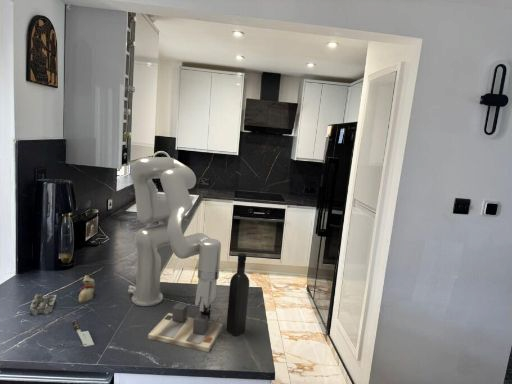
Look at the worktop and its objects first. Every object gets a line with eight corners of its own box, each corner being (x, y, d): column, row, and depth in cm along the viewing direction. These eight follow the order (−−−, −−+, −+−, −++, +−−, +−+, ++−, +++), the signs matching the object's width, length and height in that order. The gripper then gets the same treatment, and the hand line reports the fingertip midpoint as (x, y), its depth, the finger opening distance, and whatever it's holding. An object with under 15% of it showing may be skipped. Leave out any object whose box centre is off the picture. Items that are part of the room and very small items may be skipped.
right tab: (192, 332, 118) (193, 319, 117) (197, 326, 122) (198, 313, 121) (203, 334, 117) (204, 321, 116) (207, 328, 121) (208, 315, 120)
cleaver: (99, 341, 111) (83, 344, 108) (99, 345, 111) (82, 348, 108) (86, 318, 123) (71, 320, 120) (86, 321, 124) (71, 323, 120)
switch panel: (148, 338, 116) (148, 333, 115) (168, 316, 130) (168, 312, 130) (208, 352, 111) (208, 347, 111) (222, 327, 126) (222, 323, 126)
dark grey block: (172, 320, 124) (172, 308, 123) (176, 315, 128) (177, 302, 127) (182, 322, 123) (183, 310, 123) (186, 317, 127) (187, 304, 126)
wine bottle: (224, 330, 125) (231, 253, 120) (236, 325, 129) (242, 250, 124) (234, 337, 121) (241, 258, 116) (246, 332, 125) (253, 255, 120)
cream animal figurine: (99, 296, 140) (99, 274, 138) (80, 303, 133) (80, 280, 132) (92, 292, 143) (92, 270, 141) (73, 298, 136) (73, 275, 135)
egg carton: (36, 302, 132) (35, 292, 131) (57, 300, 134) (57, 291, 134) (27, 316, 122) (27, 306, 121) (51, 314, 125) (51, 304, 124)
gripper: (205, 264, 128) (202, 308, 131) (190, 279, 114) (187, 329, 117) (224, 267, 127) (220, 312, 130) (211, 283, 113) (207, 333, 116)
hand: (205, 319), depth 123 cm, fingers closed
